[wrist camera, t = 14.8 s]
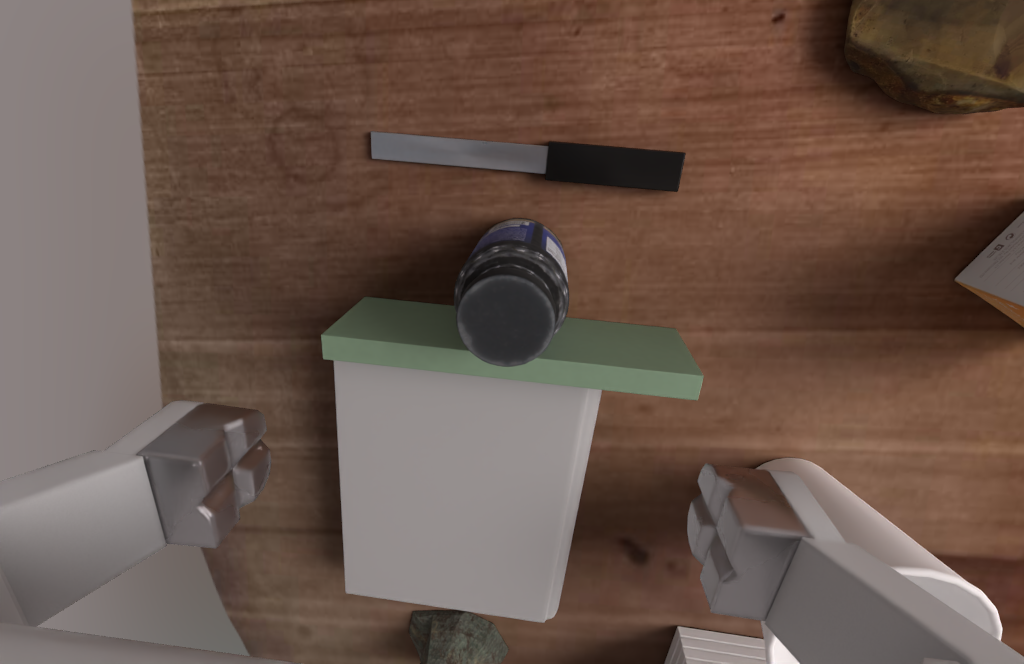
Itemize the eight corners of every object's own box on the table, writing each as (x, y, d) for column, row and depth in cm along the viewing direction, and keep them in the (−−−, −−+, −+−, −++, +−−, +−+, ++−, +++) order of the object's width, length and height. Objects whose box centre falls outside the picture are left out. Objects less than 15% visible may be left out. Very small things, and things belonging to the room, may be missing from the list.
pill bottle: (464, 286, 34) (423, 354, 23) (492, 201, 31) (461, 237, 21) (546, 317, 34) (542, 398, 24) (581, 236, 32) (592, 287, 21)
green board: (365, 317, 35) (322, 359, 29) (364, 296, 34) (320, 334, 28) (671, 349, 34) (697, 400, 28) (676, 328, 33) (704, 376, 27)
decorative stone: (810, 95, 27) (843, 92, 24) (884, -117, 24) (936, -155, 20) (998, 123, 27) (1056, 123, 24) (1104, -87, 23) (1191, -121, 20)
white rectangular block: (345, 593, 41) (331, 337, 32) (362, 556, 45) (354, 316, 35) (558, 625, 40) (610, 373, 31) (558, 585, 44) (605, 348, 34)
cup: (673, 496, 39) (721, 648, 28) (795, 400, 35) (911, 533, 23) (773, 571, 41) (857, 742, 30) (900, 489, 37) (1053, 651, 25)
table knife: (373, 163, 31) (368, 164, 30) (372, 126, 30) (366, 125, 29) (674, 190, 30) (677, 192, 29) (681, 152, 29) (685, 153, 28)
